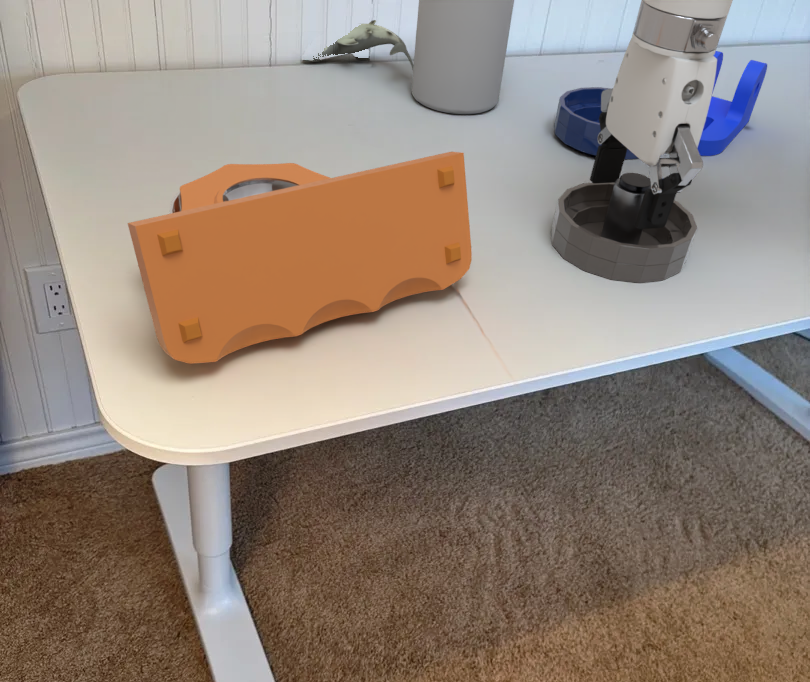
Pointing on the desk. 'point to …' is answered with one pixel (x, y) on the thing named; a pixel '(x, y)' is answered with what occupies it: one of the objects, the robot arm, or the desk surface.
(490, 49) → the cylinder vase
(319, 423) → the desk surface
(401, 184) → the desk clock
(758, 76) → the bracket
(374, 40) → the grey-green dolphin figure
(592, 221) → the grey bowl
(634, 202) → the shaker
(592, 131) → the blue bowl
